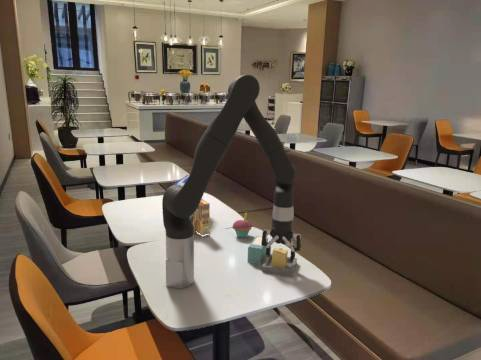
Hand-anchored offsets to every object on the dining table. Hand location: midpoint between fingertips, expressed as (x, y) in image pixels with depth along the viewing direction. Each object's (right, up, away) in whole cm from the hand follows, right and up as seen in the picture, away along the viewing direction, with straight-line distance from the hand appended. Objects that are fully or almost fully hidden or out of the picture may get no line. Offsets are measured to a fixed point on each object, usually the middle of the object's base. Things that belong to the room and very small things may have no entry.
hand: (280, 258), depth 139 cm
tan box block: (0, -3, +1) cm, 3 cm away
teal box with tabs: (-8, -1, +9) cm, 12 cm away
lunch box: (-41, +10, +49) cm, 65 cm away
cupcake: (-14, +4, +29) cm, 33 cm away
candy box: (-33, +5, +31) cm, 45 cm away
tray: (0, -4, +1) cm, 4 cm away
